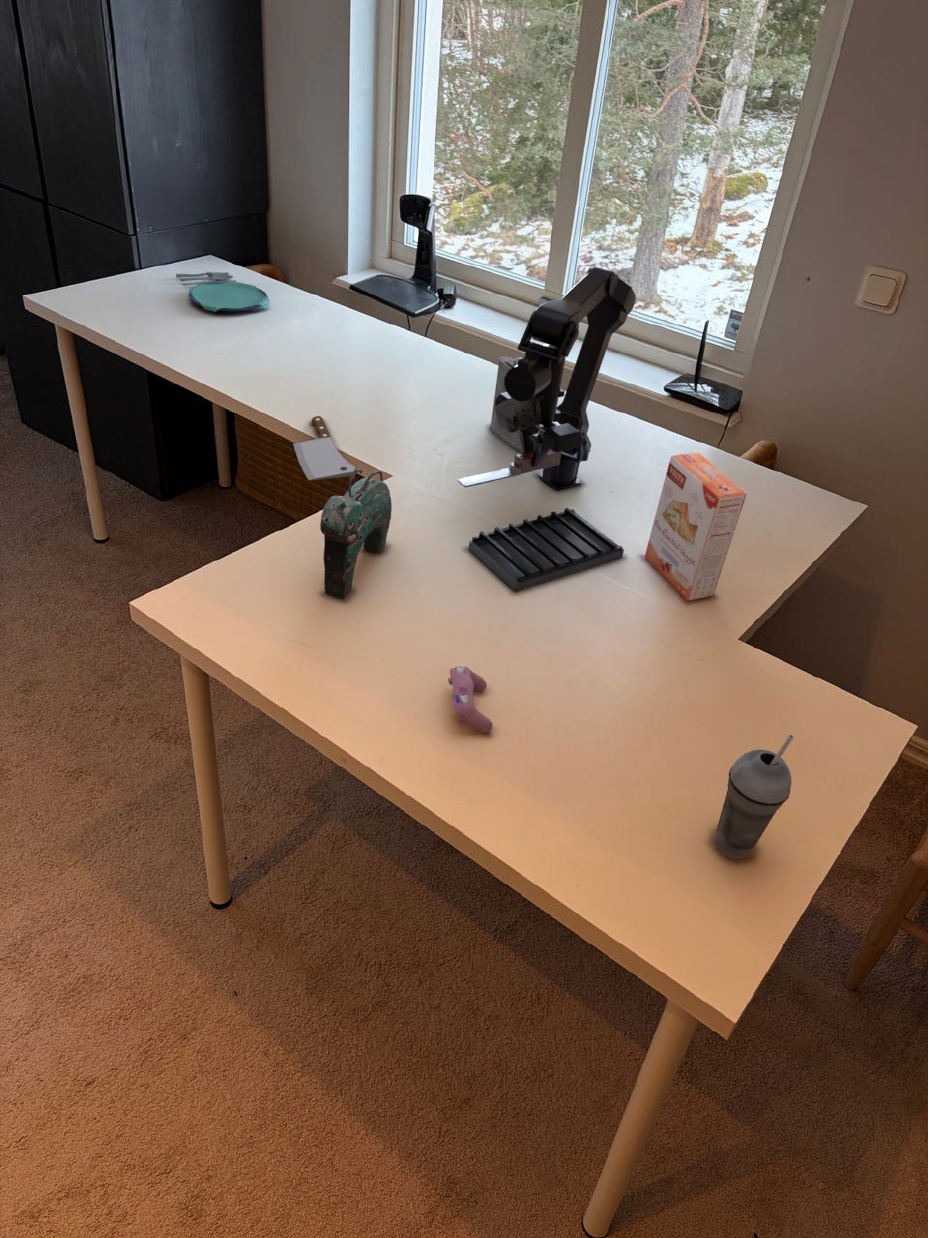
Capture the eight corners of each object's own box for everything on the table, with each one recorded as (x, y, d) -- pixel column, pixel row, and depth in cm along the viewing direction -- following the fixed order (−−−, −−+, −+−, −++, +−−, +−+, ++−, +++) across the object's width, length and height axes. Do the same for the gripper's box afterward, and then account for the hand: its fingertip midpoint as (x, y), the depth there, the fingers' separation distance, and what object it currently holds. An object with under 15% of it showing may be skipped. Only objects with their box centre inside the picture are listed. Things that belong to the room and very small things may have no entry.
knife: (551, 459, 176) (553, 445, 174) (559, 465, 174) (562, 451, 173) (456, 480, 166) (458, 466, 164) (465, 487, 164) (466, 473, 162)
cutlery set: (203, 320, 236) (202, 310, 235) (168, 279, 256) (167, 270, 254) (279, 313, 245) (279, 304, 243) (239, 274, 265) (239, 265, 263)
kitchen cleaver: (283, 418, 196) (331, 414, 199) (283, 423, 197) (331, 418, 200) (305, 478, 179) (357, 472, 182) (306, 483, 179) (357, 477, 182)
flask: (523, 456, 196) (536, 374, 185) (484, 427, 205) (494, 347, 194) (537, 453, 198) (551, 372, 187) (498, 424, 207) (509, 344, 196)
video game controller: (459, 694, 138) (441, 661, 134) (488, 684, 138) (471, 651, 134) (464, 743, 131) (446, 709, 127) (495, 732, 130) (478, 698, 126)
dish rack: (573, 519, 178) (575, 504, 176) (622, 558, 169) (626, 543, 168) (467, 549, 166) (469, 534, 164) (515, 592, 158) (517, 577, 156)
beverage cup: (717, 813, 123) (762, 700, 111) (769, 842, 120) (822, 728, 108) (694, 848, 118) (739, 733, 106) (749, 878, 115) (801, 764, 103)
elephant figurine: (345, 607, 150) (349, 498, 137) (308, 596, 151) (309, 486, 139) (396, 546, 165) (403, 443, 153) (362, 536, 166) (367, 433, 154)
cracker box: (641, 557, 170) (669, 453, 158) (669, 553, 172) (699, 450, 160) (685, 603, 160) (718, 495, 148) (714, 597, 163) (749, 491, 150)
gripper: (475, 367, 164) (465, 448, 174) (539, 412, 152) (525, 496, 162) (526, 358, 170) (514, 438, 179) (592, 401, 158) (575, 483, 167)
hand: (530, 463), depth 172 cm, fingers closed on knife, 2 cm apart
